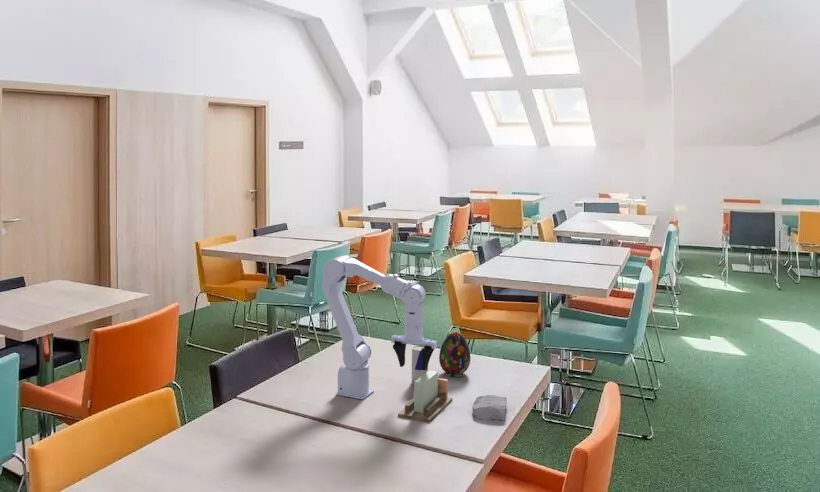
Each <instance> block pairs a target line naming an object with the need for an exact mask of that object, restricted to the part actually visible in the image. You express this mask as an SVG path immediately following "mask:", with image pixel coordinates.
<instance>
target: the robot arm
mask: <svg viewBox="0 0 820 492" xmlns="http://www.w3.org/2000/svg"><path fill="white" fill-rule="evenodd" d="M321 272H322V281H321V282H322V283H321V290H322V293H323V294H324V295H323V296H324V298H325V300H326V302H327V305H328V307H329V311H330V313H331V314H332V315H331V316H332V317H333V320H334V322H335V325H336V328H337V330H338V333H339V335H340V337H341V340H342V343H341V351H342V361H343V364H341V365H340V366H339V369H338V371H337V392H336V395H337V396H343V397H347V398H353V399H357V400H358V399H359V400H364V399H365V398H367V397H368V396H369V395H371V394H373V393H374V392H375V389H373V388H372V389H371V388H370V364H369V359H370V358H371V355H372V348H371V347H370V345H369V344H368V343H366V341H365V339H364V337H363V336H362V335H360V334H359V331H358V330H357V327H356V325H355V322H354V319H353V316H352V314H351V312H350V309H349V307H348V304H347V302H346V299H345V296H344V294H343V292H342V289H341V287H342V285H343V283H344V281H345V279H347V278H350V277H355V276H357V277H360V278H363V279H364V280H366V281H369V282H372V283H374V284H375V285H376V284H377V285H380V287H381V290H382V292H385V293H387V294H388V295H391V296H393V297H394V298H395V297H396V298H397V299H398V300H402V301H403V303H404V334H403V335H398V334H394V335H392V336H390V337H391V338H390V342H391V343H392V344H393V345H392V349H393V351H394V353H395V354H396V357H397V359H398V364H399V367H401V368H402V367H404V366H405V365H406V348H407V345H412V346H424V348H423V349H421V352H422V358H423V366H422V368H423V370H424V371H425V370H426V369H427V368H428V369H429V362H430V359H431V357H432V355H433V352H434V351H435V349H437V347H438V341H437V340H433V339H429V338H426V337H424V320H425V319H424V316H425V315H424V314H425V313H424V312H425V311H424V300H425V298H426V295H427V293H426V290H425V287H424V286H423V285H421V284H420V283H413V281H411V280H410V281H407V280H405V279H403V278H401V277H399V274H398V273H394V274H393V273H389V274H386V275H385V274H384V273H381V272H379V271H378V270H376V269H374V268H373V267H371V266H369V265H366V264H365V263H363V262H361V261H359V260H358V259H356V258H354V257H350V256H349V255H347V254H340V255H338V256H336V257H335V258H332V259H329V260H328V261H326V263H325V265H324V267H323V268H322V270H321Z"/></svg>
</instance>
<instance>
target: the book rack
mask: <svg viewBox="0 0 820 492" xmlns="http://www.w3.org/2000/svg"><path fill="white" fill-rule="evenodd" d="M448 385H449V380H448V378H447V379H446V378H442V377H441V378H440V377H438V397H437V398H436V399H435V400H434V401H433V402H432V403H431V404H430V405H429V406H427V407H426V408H425V412H424V413H420V412H415V411H414V397H413V398H412V399H410V401H408V402H407V403H406V404H405V405H404V408H402V410H401V411H399V412H398V413H397V417H400V418H406V419H410V420H413V421H415V420H416V421H420V422H421V421H422V422H426V423H431V422H432V421H434V419H435V418H436V417H437V416H438V415H439V414H440V413H441V412H442V411H443V410H444V409H445V408H446V407H447V406H448V405H449V404H450V403H452V401H453V397H450V396H448V395H449V394H448V392H449V391H448V390H449V386H448Z"/></svg>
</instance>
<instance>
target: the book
mask: <svg viewBox="0 0 820 492" xmlns="http://www.w3.org/2000/svg"><path fill="white" fill-rule="evenodd" d="M438 378H439V371H435V370H429V369H428V371H427V372H426V373H425V374H424V375H422V376H421V377H420V378H419V379H417V380H416V381H415V382H414V385H413V398H414V411H415V412H420V413H424V412H425V408H426V407H427V406H429V405H430V404H431V403H432V402H433V401H434V400H435V399H436V398H437V397H438Z"/></svg>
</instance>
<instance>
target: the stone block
mask: <svg viewBox="0 0 820 492" xmlns="http://www.w3.org/2000/svg"><path fill="white" fill-rule="evenodd" d="M471 408H472V413H473V416H474V417H475V418H476V419H478V418H480V419H479V420H484V419H495V420H494V421H505V419H506V411H507V396H505V397H504V396H500V395H495V394H485V395H479V396H477V397H476V398H475V400H474V401H473V404H472V407H471Z"/></svg>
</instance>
